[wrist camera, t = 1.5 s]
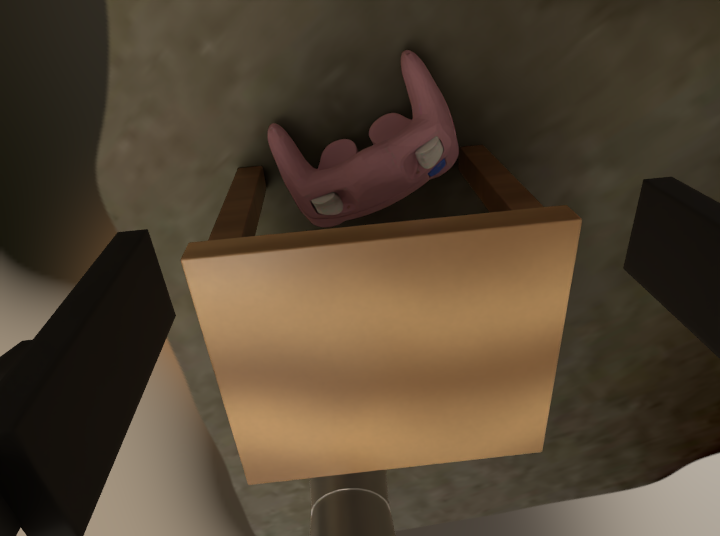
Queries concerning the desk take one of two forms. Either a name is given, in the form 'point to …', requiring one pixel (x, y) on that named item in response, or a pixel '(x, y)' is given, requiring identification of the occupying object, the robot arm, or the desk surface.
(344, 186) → the video game controller
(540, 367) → the side table
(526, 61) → the desk surface
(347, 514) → the plastic bottle
